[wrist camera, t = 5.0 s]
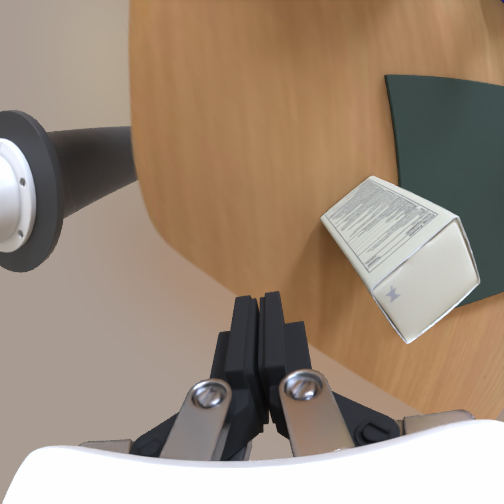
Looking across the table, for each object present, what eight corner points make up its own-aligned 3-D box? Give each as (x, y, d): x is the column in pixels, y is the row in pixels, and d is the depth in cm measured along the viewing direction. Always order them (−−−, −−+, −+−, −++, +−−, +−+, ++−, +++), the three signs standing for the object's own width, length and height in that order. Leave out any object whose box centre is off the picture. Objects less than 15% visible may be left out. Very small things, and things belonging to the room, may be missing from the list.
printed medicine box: (351, 260, 21) (402, 350, 12) (317, 216, 20) (360, 292, 11) (404, 219, 20) (484, 284, 11) (374, 171, 19) (459, 212, 9)
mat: (396, 321, 24) (397, 324, 23) (384, 75, 16) (386, 74, 16) (515, 284, 22) (517, 286, 22) (523, 91, 14) (525, 91, 14)
